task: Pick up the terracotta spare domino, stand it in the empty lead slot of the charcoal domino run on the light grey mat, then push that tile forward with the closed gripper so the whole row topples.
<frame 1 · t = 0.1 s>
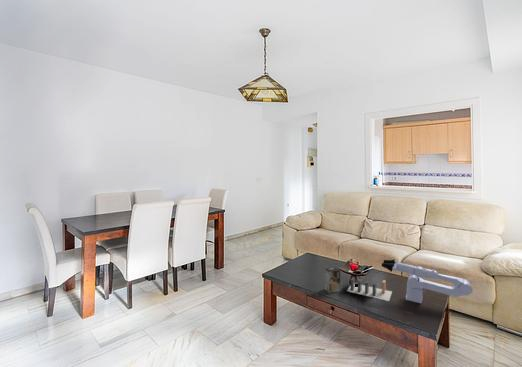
hand: (382, 262, 194), 22 cm above the table, tool horizontal, fingers open, 7 cm apart
domino 4: (359, 290, 197), resting on grey mat
coffee box: (332, 291, 199), on the table
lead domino: (383, 292, 195), resting on grey mat
domino 5: (352, 289, 200), resting on grey mat
grey mat: (369, 291, 197), on the table
domino 3: (366, 292, 195), resting on grey mat
domino 2: (374, 294, 192), resting on grey mat
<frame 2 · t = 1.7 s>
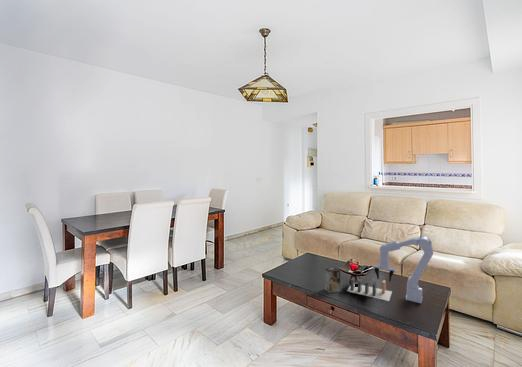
hand: (383, 279, 194), 9 cm above the table, tool pointing down, fingers open, 7 cm apart
nothing on the table moved.
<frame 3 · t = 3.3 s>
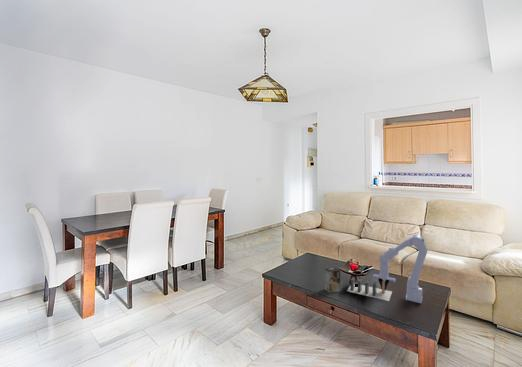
hand: (383, 289, 195), 3 cm above the table, tool pointing down, fingers closed on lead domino, 2 cm apart
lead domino: (383, 292, 195), resting on grey mat, touching gripper
everything else where it was.
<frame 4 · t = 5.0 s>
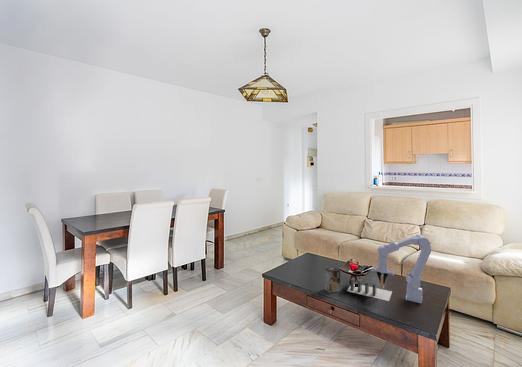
hand: (382, 283, 189), 10 cm above the table, tool pointing down, fingers closed on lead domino
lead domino: (382, 287, 189), point 6 cm above the table, touching gripper
everything else where it was.
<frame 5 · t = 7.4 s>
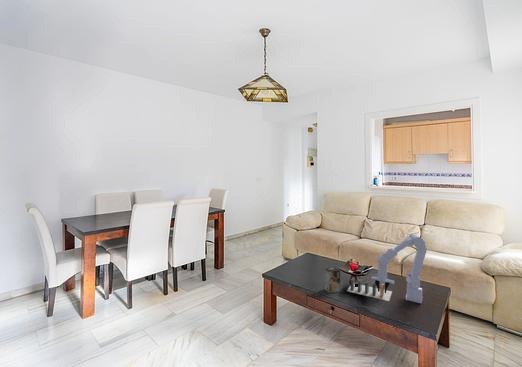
hand: (382, 291, 189), 4 cm above the table, tool pointing down, fingers open, 4 cm apart
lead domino: (382, 296, 189), resting on grey mat
everything else where it was.
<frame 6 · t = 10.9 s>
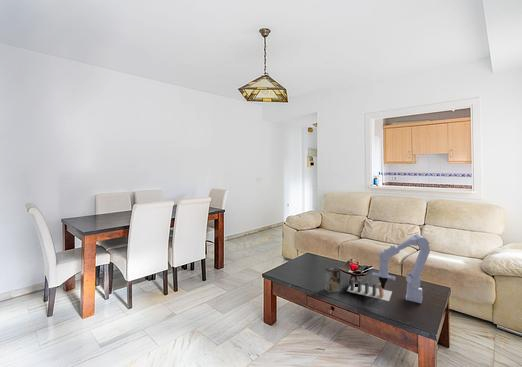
hand: (383, 288, 188), 6 cm above the table, tool pointing down, fingers closed
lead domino: (382, 295, 189), point 1 cm above the table, tilted 10°, touching grey mat
everything else where it was.
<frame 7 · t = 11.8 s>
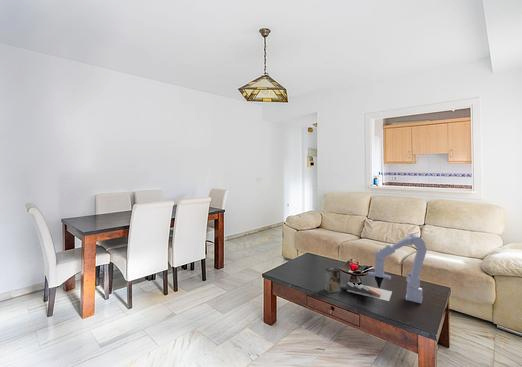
hand: (379, 287, 190), 6 cm above the table, tool pointing down, fingers closed
domino 4: (357, 289, 198), point 1 cm above the table, tilted 69°, touching domino 3, domino 5, grey mat
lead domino: (380, 294, 190), point 1 cm above the table, tilted 71°, touching domino 2
domino 5: (351, 287, 200), point 1 cm above the table, tilted 95°, touching domino 4, grey mat
domino 3: (365, 291, 195), point 1 cm above the table, tilted 71°, touching domino 2, domino 4, grey mat
domino 2: (373, 293, 192), point 1 cm above the table, tilted 72°, touching domino 3, grey mat, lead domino
everything else where it was.
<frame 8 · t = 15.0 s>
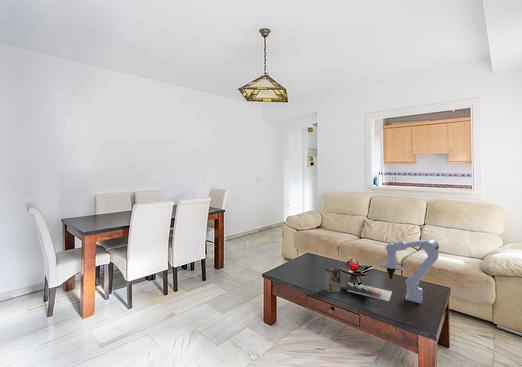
hand: (391, 278, 196), 10 cm above the table, tool pointing down, fingers closed
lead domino: (380, 294, 190), point 1 cm above the table, tilted 71°, touching domino 2, grey mat
everything else where it was.
at the end: domino 5 tilted 95°; domino 3 tilted 71°; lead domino inside the target area (0.1 cm from its centre), point 1.3 cm above the table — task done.
